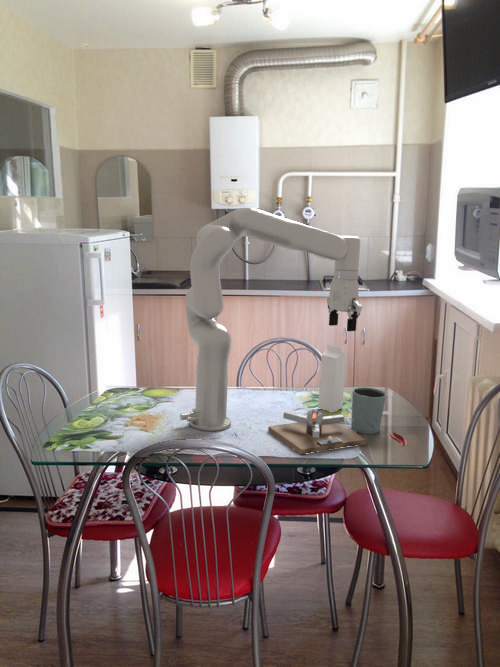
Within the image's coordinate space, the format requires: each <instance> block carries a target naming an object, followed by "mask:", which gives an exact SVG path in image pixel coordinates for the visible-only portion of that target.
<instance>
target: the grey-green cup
mask: <svg viewBox="0 0 500 667" xmlns="http://www.w3.org/2000/svg"><path fill="white" fill-rule="evenodd" d="M386 398H387V393H386V392H385V391H383V390H380V389H377V388H373V387H356V388H353V389H352V404H351V405H352V407H351V429H352V428H353V429H354V430H356V431H357V432H356V431H355V432H356V433H361V434H366V435H370V434H371V435H372V434H373V435H374V434H376V433H380V429H381V423H382V418H383V413H384V409H385V408H384V407H385V404H386ZM353 429H352V430H353ZM354 430H353V431H354Z"/></svg>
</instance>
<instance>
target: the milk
mask: <svg viewBox="0 0 500 667" xmlns="http://www.w3.org/2000/svg"><path fill="white" fill-rule="evenodd" d="M346 364H347V355H346V354H345V353H344V352H343V347H341V346H335V345H332V344H327V346H326V349H325V350H324V352H323V353H322V354H321V361H320V376H319V389H318V390H319V391H318V404H317V405H318V406H317V409H318V408H320V409H319V410H321V409H323V410H322V411H324V410H327V411H331V412H333V411H336V410H338V409H341V408H342V409H343V406H344V405H343V404H344V392H345V391H344V390H345V379H346V378H345V377H346V367H347V366H346ZM327 411H326V412H327ZM336 412H337V411H336Z"/></svg>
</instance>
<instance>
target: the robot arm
mask: <svg viewBox="0 0 500 667" xmlns="http://www.w3.org/2000/svg"><path fill="white" fill-rule="evenodd" d="M243 237H247V238H250V239H253V240H257V241H260V242H264V243H267V244H270V245H273V246H276V247H280V248H283V249H287V250H292V251H299V252H305V253H308V254H312V255H313V256H314V257H316V258H318V259H323V260H328V261H334V272H333V278H332V280H331V284H330V287H329V294H328V298H326V302H327V309H328V313H329V316H328V319H329V320H328V326H332V327H333V326H338V323H339V313H338V312H342V313H346V314H347V315H348V318H347V320H346V331H347V332H355V331H357V320H358V319H359V316H360V315H361V312H362V309H363V306H362V305H361V304H360V303H359V281H358V279H359V264H360V254H361V252H360V251H361V239H360V237H359V236H356V235H355V236H353V235H338V234H335V233H332V232H329V231H327V230H323V229H320V228H316V227H312V226H309V225H306V224H304V223H302V222H301V223H300V222H297V221H294V220H292V219H289V218H285V217H283V216H279V215H276V214H273V213H270V212H267V211H265V210H261V209H258V208H254V207H239V208H237V209H234V210H233V211H231V212H229V213H227V214H225V215H223V216H222V217H219V218H217V219H215V220H213V221H211V222H209V223H207V224H206V225H204V226H202V227H201V228H199V231H198V233H197V236H196V242H197V245H196V247H194V248H195V249H194V250H193V253H192V255H191V258H190V262H189V263H190V264H189V268H190V269H189V270H190V271H189V272H190V283H191V287H190V288H189V289H188V290H187V291H186V294H185V299H184V305H185V311H186V312H185V313H186V320H187V326H188V331H189V332H188V333H189V337H190V339H191V340H192V342H193V343H194V345H196V347H198V353H197V359H196V367H195V368H196V370H195V374H196V376H195V377H196V378H195V405H194V406H195V407H194V408H192V411H189V412H188V413H184V412H183V413H179V419H180V421H187V422H189V424H190V426H191V427H193V428H194V429H196V430H200V431H206V432H207V431H211V432H215V431H221V430H222V431H224V430H225V429H229V428H230V427H231V426H232V421H231V418H229V417H228V416H227V410H228V409H227V407H228V406H227V403H228V383H229V382H228V379H229V376H228V373H229V363H230V362H229V361H230V360H229V359H230V354H231V350H232V349H231V348H232V337H231V335H230V331H229V330H228V329H227V328H226V327H225V326H224V325H223V324H222V323H219V321H218V317H220V315H221V314H222V313H223V310H224V298H223V297H224V296H223V291H222V290H223V289H222V282H221V273H220V272H221V263H222V261H223V259H224V258H225V257H226V255H227V254H228V253H230V252H231V251H232V250H233V247H234V245H235V242H236V241H238V240H239V239H241V238H243Z"/></svg>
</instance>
